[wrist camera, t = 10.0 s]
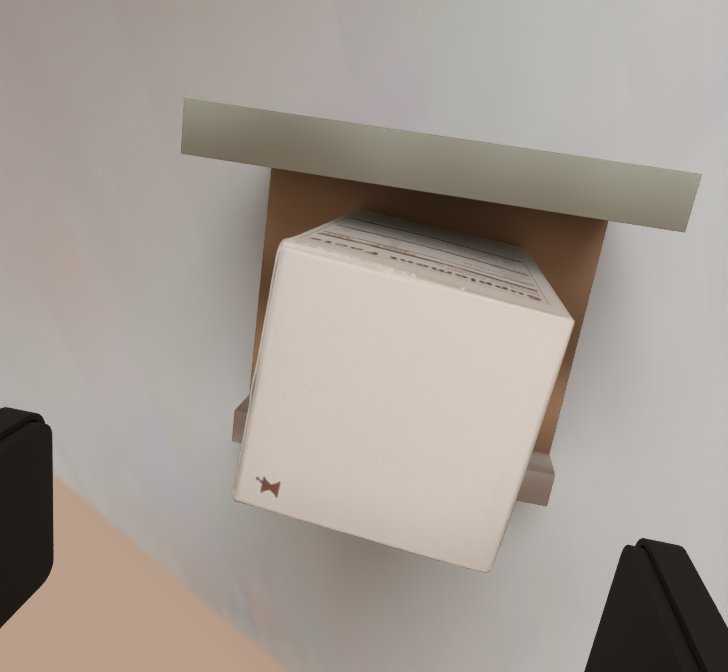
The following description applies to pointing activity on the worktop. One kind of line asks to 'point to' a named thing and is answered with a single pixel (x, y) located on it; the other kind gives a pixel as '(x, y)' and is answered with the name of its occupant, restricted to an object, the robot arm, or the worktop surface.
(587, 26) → the worktop surface
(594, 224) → the wall shelf
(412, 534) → the supplement box
